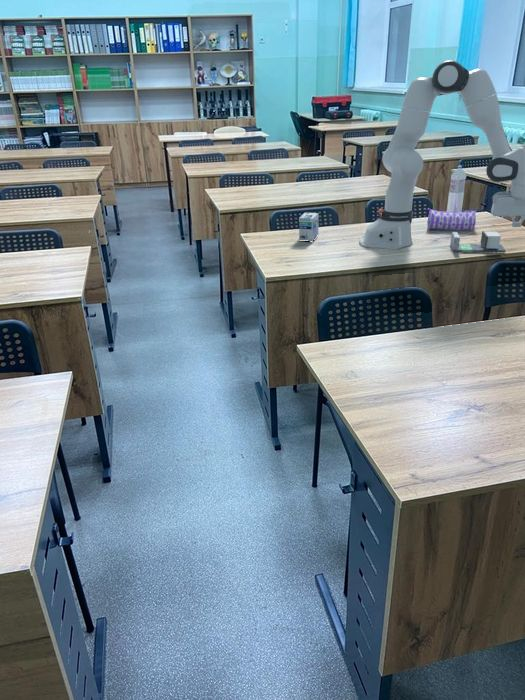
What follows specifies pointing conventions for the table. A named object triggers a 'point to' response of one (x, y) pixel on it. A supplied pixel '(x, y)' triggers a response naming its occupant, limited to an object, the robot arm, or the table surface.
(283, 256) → the table surface
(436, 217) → the pencil case
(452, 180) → the water bottle
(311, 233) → the light bulb box
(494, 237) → the white cube on plate
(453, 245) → the rail
